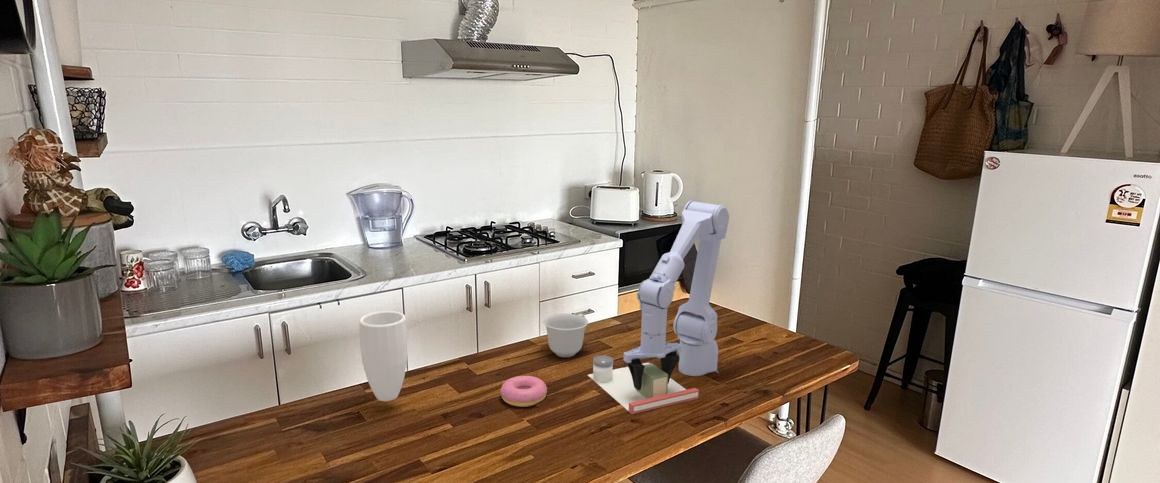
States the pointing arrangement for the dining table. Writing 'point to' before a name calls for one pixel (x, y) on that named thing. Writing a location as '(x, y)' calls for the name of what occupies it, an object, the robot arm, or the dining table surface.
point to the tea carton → (653, 382)
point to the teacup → (565, 333)
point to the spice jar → (602, 369)
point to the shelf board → (635, 402)
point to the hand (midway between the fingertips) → (651, 385)
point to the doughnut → (523, 391)
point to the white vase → (384, 352)
